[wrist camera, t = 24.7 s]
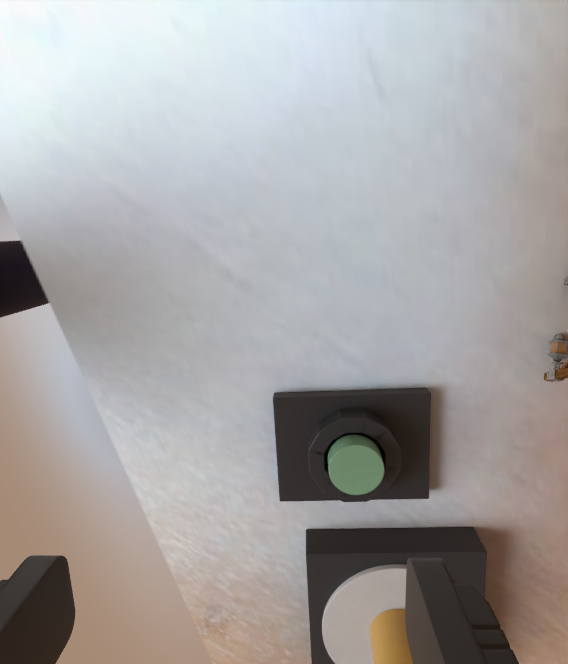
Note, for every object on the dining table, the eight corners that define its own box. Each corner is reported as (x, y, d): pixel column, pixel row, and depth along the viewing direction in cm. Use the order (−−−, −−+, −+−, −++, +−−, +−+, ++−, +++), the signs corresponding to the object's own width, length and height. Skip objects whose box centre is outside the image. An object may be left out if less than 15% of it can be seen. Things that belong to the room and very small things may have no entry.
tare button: (328, 482, 35) (329, 496, 33) (326, 434, 34) (327, 445, 32) (381, 481, 35) (384, 494, 33) (380, 433, 34) (384, 444, 32)
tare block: (280, 493, 38) (278, 515, 35) (273, 392, 36) (271, 407, 33) (425, 490, 37) (435, 512, 34) (426, 387, 35) (437, 401, 32)
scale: (313, 661, 42) (313, 700, 39) (306, 529, 39) (305, 558, 35) (467, 662, 41) (481, 701, 38) (473, 526, 38) (489, 556, 35)
